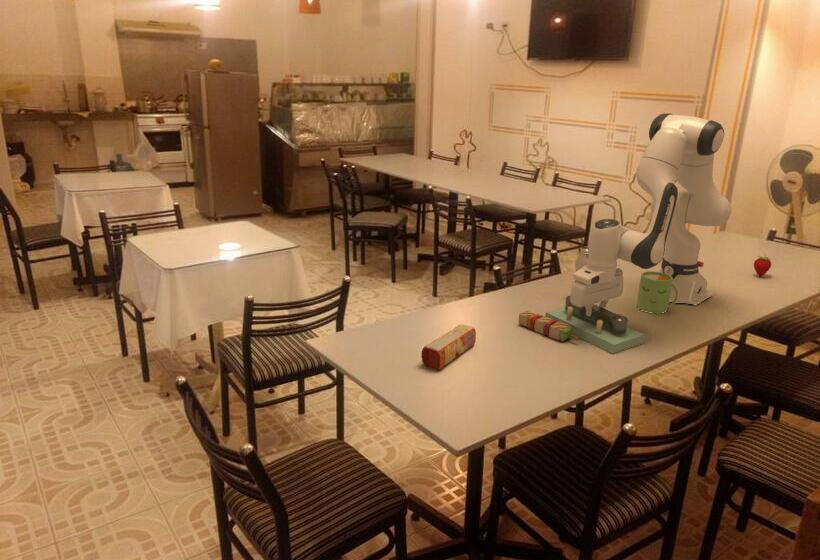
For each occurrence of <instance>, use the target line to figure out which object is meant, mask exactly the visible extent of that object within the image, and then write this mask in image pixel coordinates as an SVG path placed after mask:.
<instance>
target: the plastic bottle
mask: <svg viewBox="0 0 820 560" xmlns="http://www.w3.org/2000/svg"><path fill="white" fill-rule="evenodd" d="M588 247H589V246H582V247H580V255H579V256H578V257H577V258H576V260H575V262H574V263H575V265H574V266H575V267H574V269H575V272H577V271H578V270H580V269H581V268H582V267H584V266H585V265H586V263H587V259H588V257H589V249H588Z"/></svg>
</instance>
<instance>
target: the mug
mask: <svg viewBox="0 0 820 560" xmlns="http://www.w3.org/2000/svg"><path fill="white" fill-rule="evenodd" d="M672 280H673V277H672V276H670V275H668V274H665V273H661V272H658V271H652V270H651V271H643V272H641V275H640V281H639V285H638V287H639V288H638V293H637V298H636V300H637V301H636V306H637V307H638V308H639V309H641V310H643V311H647V312H652V313H662V312H665V311H667V312H668V307H670V306H672V305H674V304H676V303H675V301H676V300H677V297H678V292H677V289H676V287H675V286H674V285H673V284H672ZM671 286H672V287H673V288H674V289H675V292H676V297H675V299H674V301H673V302H672V303H670V302H669V297H670V291H671ZM636 306H635V307H636ZM637 307H636V308H637ZM638 308H637V309H638ZM639 309H638V310H639ZM641 310H640V311H641ZM643 311H642V312H643Z"/></svg>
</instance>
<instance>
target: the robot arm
mask: <svg viewBox="0 0 820 560" xmlns="http://www.w3.org/2000/svg"><path fill="white" fill-rule="evenodd" d="M648 138H649V143H648V145H647V146H646V149H645V150H644V152H643V154H642V156H641V159H640V161H639V163H638V166H637V168H636V173H635V176H636V181H637V183H638V185H639V187H640V188H641V189H642V190H643V191H644V192H646V193H647V194H648V195H649V196H650V197H651V198H652V199H651V201H650V211H651V213H652V217H651V221H650V224H649V227H648V231H646V232H645V233H644V232H642V231H638V230H635V229H632V228H628V227H626V226H623V225H622V224H620V222H619V221H618V220H616V219H612V218H604V219H600V220H598V221H596V222H594V223H593V226H592V228H591V231H590V236H589V241H588V246H587V247H588V249H589V257H588V259H587V263H586V265H585V266H584V267H582V268H581V269H580V270H578V271H577V272H576V271H575V272H574V273H573V276H572V279H573V280H574V281H573V283H572V286H571V291H570V296H571V297H570V301H571V303H572V304H573V305H575V306H577V307H583V306H585V308H586V315H587V316H593V313H594V311H593V310H592V309H591V307H592V306H593V304H594V305H595V304H596V303H599V305H598V306H599V307H601V308H604V309H606V307H607V305H608V303H609V300H611V299H616V298H620V297H622V295H623V293H624V277H623V274H624V272H623V270H622V269H621V268H619V267H618V268H617V265H618V262H617V260H618V259H620V260H622V261H625V262H628V263H630V264H633V265H634V266H636V267H638V268H641V269H642V270H648V269H652V268H654V267H655V266H657V265H659V264H660V263H661V265H660V267H661V269H659V270H658V271H657V272H661V273H665V274H668V275H670V276H672V277H673V280H672V284H673V285H674V286H675V287H676V289H677V292H678V297H677V300H676V301H675V303H674V304H676V303H689V304H699V303H700V302H702V301H704V300H705V299H707V298H709V297H710V296H712V297H713V293H712V292H711V291H710V290H707V287H708V280H707V279H706V278H705V277H704V275H702V274H701V273H700V272H699V271H700V270H699V268H703V267H704V265H705V263H704V262H703V261H700V260H699V254H700V248H701V241H700V239H699V237H697V236H696V235H695V234H694V233H692V232H690V231H689V230H688V229H687V227H686V224H689V225H696V226H701V227H720V226H723V225H725V224H726V223H727V221H728V220H729V219H730V217H731V214H732V205H731V203H730V201H729V200H728V198H727V197H725V196H724V195H722V193H720V192H719V190H718V189H717V187H716V185H715V182H714V178H713V174H714V173H713V168H714V160H715V159H714V158H715V153H717V152H718V151H719V150H720V149H721V146H722V143H723V141H724V138H725V129H724V127H723V125H722V124H721V123H719V122H717V121H714V120H712V119H710V120H708V119H706V118H703V117H698V116H693V115H684V114H673V113H670V112H669V113H660V114H659V115H657V116H656V117H655V118H654V119H652V121H651V124H650V127H649V129H648ZM676 182H677V183H678V185H680V187H681V188H683V189H685V190H679V189H678V187H677V185H676ZM675 297H676V292H675V289H674V288H673V287H672V286H671V291H670V297H669V302H668V303H670V302H673V301H674V299H675ZM709 299H710V298H709ZM707 300H708V299H707ZM704 302H705V301H704ZM702 303H703V302H702ZM700 304H701V303H700ZM700 304H699V305H700Z"/></svg>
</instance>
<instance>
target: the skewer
mask: <svg viewBox="0 0 820 560" xmlns="http://www.w3.org/2000/svg"><path fill="white" fill-rule="evenodd" d="M518 324H519V325H521V326H524V327H527V329H529V330H530V329H531V330H532V331H535V332H536V333H539V334H542V335H543V336H547V337H549V338H551V339H554V340H557V341H561V342H565V341H566V340H567V339H569V338H573V339H576V340H579V339H580V338H579V337H577V336H575V335H573V334H572V330H573V326H570V325H568V324H566V323H563V322H560V321H558V320H552V319H551V318H548V317H546V316H545V315H540V314H539V313H533V312H531V311H528V310H526V311H524V312H521V313H519V316H518Z"/></svg>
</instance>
